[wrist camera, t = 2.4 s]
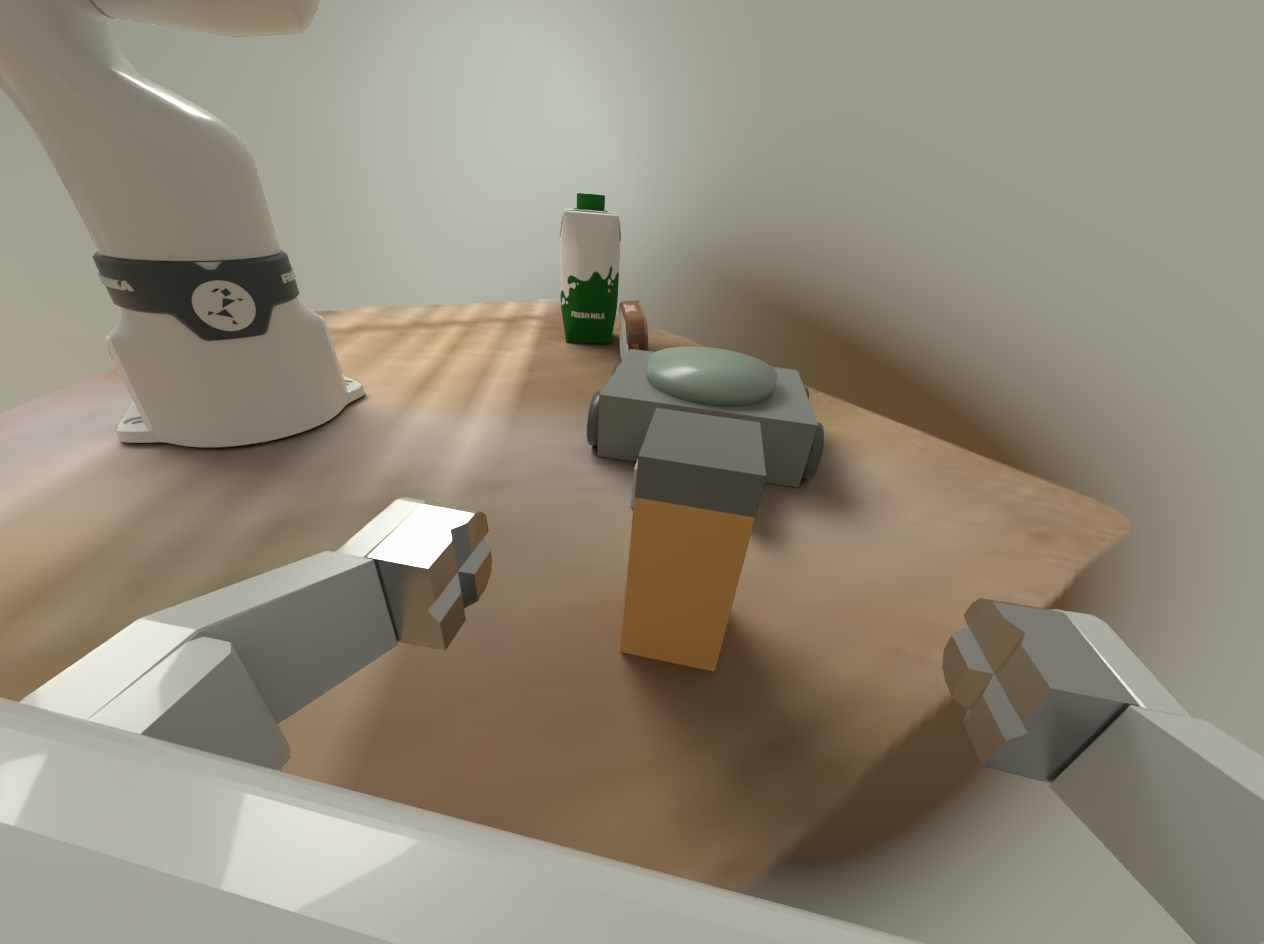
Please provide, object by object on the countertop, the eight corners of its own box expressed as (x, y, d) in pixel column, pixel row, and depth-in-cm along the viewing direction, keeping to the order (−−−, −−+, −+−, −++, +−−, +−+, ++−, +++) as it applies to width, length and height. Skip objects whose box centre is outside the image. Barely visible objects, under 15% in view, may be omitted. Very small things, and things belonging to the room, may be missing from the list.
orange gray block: (714, 671, 24) (766, 475, 18) (620, 651, 25) (638, 455, 18) (717, 600, 28) (759, 422, 22) (636, 585, 29) (656, 407, 23)
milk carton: (613, 331, 80) (620, 196, 69) (616, 346, 72) (624, 198, 62) (561, 328, 79) (561, 191, 68) (559, 344, 71) (558, 192, 61)
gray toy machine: (823, 540, 34) (856, 451, 30) (562, 495, 36) (561, 408, 33) (792, 423, 52) (811, 357, 48) (618, 398, 54) (622, 334, 50)
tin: (647, 390, 57) (654, 321, 53) (622, 389, 57) (626, 319, 53) (635, 353, 70) (640, 295, 66) (615, 352, 70) (618, 293, 65)
